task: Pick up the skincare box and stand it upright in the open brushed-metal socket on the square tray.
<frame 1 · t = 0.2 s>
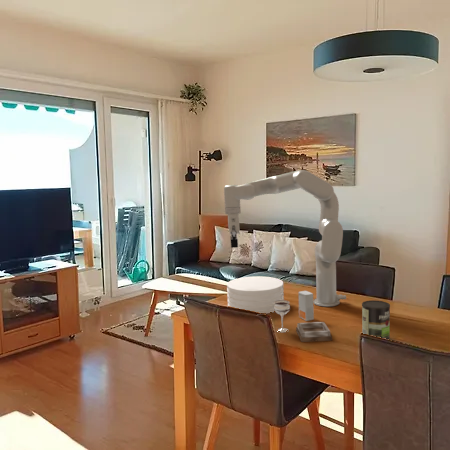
hand: (234, 245, 217), 31 cm above the table, tool pointing down, fingers open, 9 cm apart
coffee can: (375, 339, 174), on the table
square tray: (313, 335, 180), on the table
plate stack: (255, 305, 223), on the table
wineglass: (282, 330, 187), on the table
skincare box: (306, 318, 200), on the table
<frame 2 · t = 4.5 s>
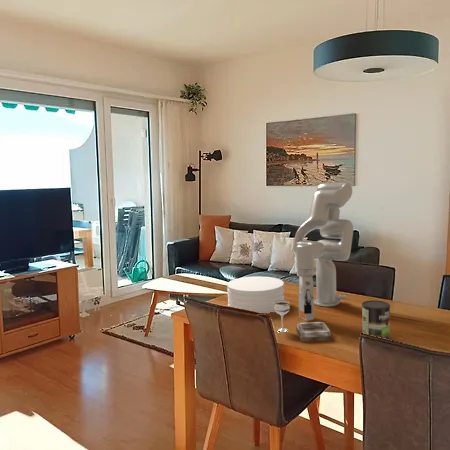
hand: (306, 310, 200), 4 cm above the table, tool pointing down, fingers closed on skincare box, 7 cm apart
skincare box: (306, 318, 200), on the table, touching gripper
everything else where it was.
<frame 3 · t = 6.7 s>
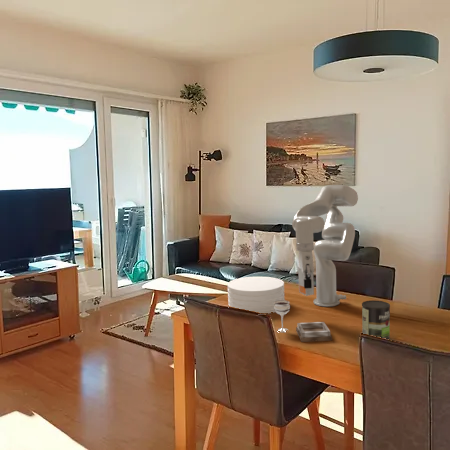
hand: (306, 285, 199), 15 cm above the table, tool pointing down, fingers closed on skincare box, 7 cm apart
skincare box: (306, 294, 200), point 11 cm above the table, touching gripper
everything else where it was.
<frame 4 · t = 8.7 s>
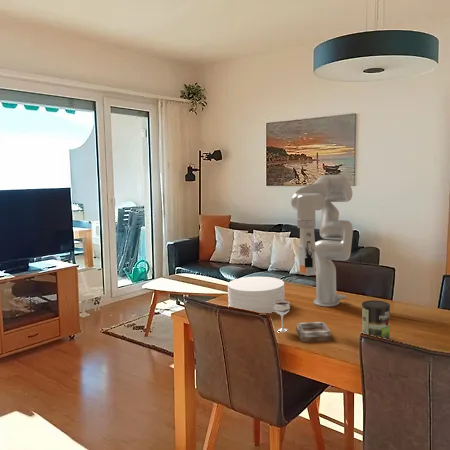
hand: (307, 265, 190), 26 cm above the table, tool pointing down, fingers closed on skincare box, 7 cm apart
skincare box: (307, 274, 190), point 22 cm above the table, touching gripper
everything else where it was.
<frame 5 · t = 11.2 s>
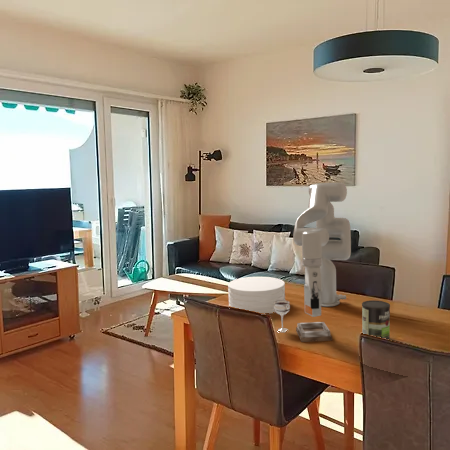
hand: (312, 305, 178), 13 cm above the table, tool pointing down, fingers closed on skincare box, 7 cm apart
skincare box: (312, 314, 179), point 9 cm above the table, touching gripper
everything else where it was.
when the fingers open (6 cm above the table, at t = 13.1 s): skincare box stays where it is, resting on square tray.
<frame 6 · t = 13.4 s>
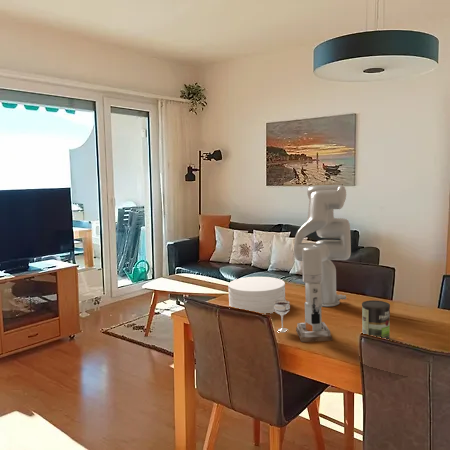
hand: (313, 319, 179), 7 cm above the table, tool pointing down, fingers open, 9 cm apart
skincare box: (313, 332, 180), point 1 cm above the table, touching square tray
everything else where it was.
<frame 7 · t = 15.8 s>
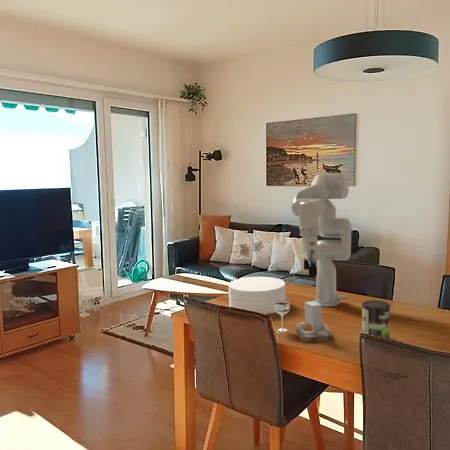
hand: (310, 272, 183), 25 cm above the table, tool pointing down, fingers open, 9 cm apart
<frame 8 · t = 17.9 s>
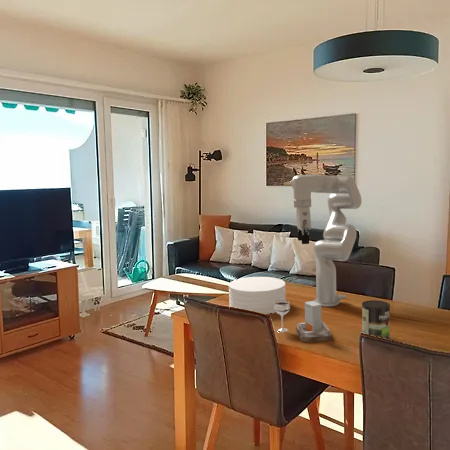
hand: (303, 242, 199), 34 cm above the table, tool pointing down, fingers open, 9 cm apart
at the end: skincare box 0.2 cm off-centre on the square tray, point 1.3 cm above the square tray's base; skincare box tilted 0°; the gripper is holding nothing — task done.
